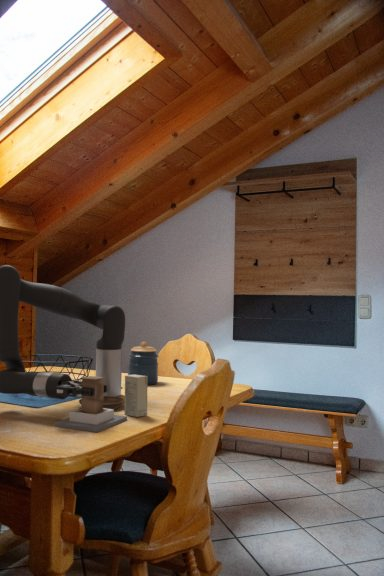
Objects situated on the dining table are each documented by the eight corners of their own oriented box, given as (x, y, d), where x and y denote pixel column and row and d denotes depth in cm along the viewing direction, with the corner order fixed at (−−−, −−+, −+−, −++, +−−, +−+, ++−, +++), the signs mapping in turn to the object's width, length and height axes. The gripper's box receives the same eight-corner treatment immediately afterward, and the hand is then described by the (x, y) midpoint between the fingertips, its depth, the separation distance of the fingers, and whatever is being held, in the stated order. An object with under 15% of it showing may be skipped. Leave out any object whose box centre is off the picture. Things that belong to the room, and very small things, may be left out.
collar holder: (87, 414, 157) (87, 403, 157) (126, 419, 152) (127, 408, 152) (54, 426, 142) (54, 413, 142) (96, 432, 137) (97, 419, 137)
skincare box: (147, 415, 158) (148, 376, 158) (137, 417, 155) (138, 377, 155) (133, 412, 162) (134, 373, 162) (123, 414, 159) (124, 374, 159)
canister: (130, 380, 224) (131, 340, 224) (159, 381, 224) (160, 340, 224) (124, 385, 211) (126, 342, 211) (156, 386, 211) (157, 343, 211)
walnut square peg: (89, 416, 150) (91, 376, 150) (102, 418, 148) (104, 377, 148) (80, 420, 146) (82, 378, 146) (94, 421, 144) (95, 379, 144)
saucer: (75, 404, 172) (76, 396, 172) (119, 402, 177) (119, 394, 177) (81, 414, 158) (82, 405, 158) (128, 411, 163) (128, 403, 164)
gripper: (36, 375, 146) (86, 381, 140) (67, 369, 159) (114, 374, 153) (36, 402, 146) (85, 408, 139) (66, 394, 159) (113, 399, 153)
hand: (100, 390), depth 146 cm, fingers open, 5 cm apart
